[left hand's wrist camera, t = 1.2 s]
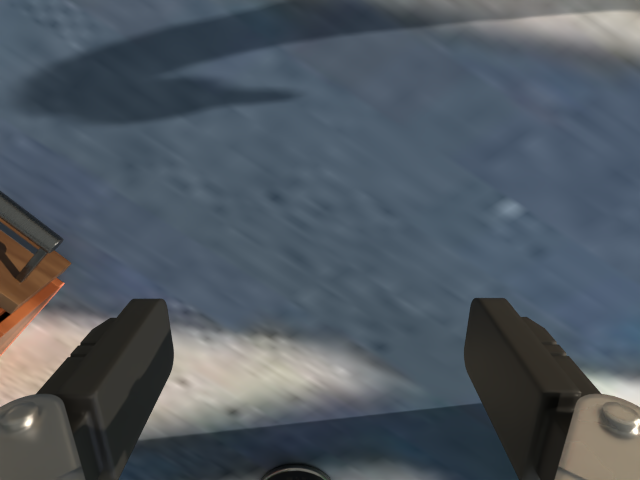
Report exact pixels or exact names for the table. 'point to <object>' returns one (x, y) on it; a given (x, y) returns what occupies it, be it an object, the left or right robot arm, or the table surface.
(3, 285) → the drawer
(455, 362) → the table surface
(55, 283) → the cabinet
